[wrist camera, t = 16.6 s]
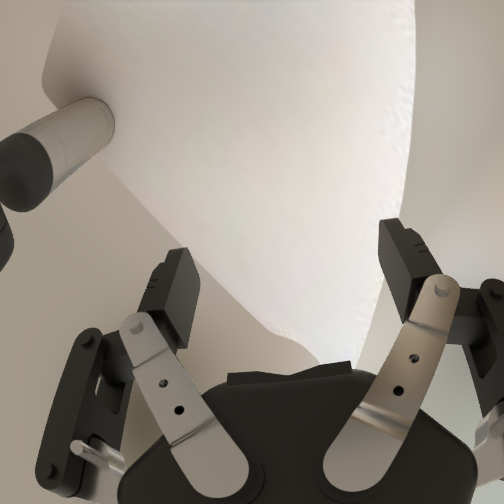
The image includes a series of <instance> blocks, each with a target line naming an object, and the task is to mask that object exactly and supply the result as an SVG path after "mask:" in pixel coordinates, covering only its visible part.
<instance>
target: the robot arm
mask: <svg viewBox="0 0 504 504" xmlns="http://www.w3.org/2000/svg"><path fill="white" fill-rule="evenodd" d="M113 132H114V119H113V116H112V113H111V111H110V110H109V108H108V107H107V106H106V105H105V104H104V103H103V102H102V101H100V100H98V99H94V98H85V99H82V100H79V101H77V102H75V103H72V104H70V105H68V106H66V107H63V108H61V109H59V110H57V111H55V112H53V113H51V114H49V115H47V116H45V117H43V118H41V119H39V120H37V121H35V122H33V123H31V124H30V125H28V126H26V127H24V128H22V129H21V130H19V131H17V132H15V133H14V134H12V135H10V136H9V137H7V138H5V139H4V140H3V141H1V142H0V202H1V203H2V204H3V205H5V206H6V207H7V208H9V209H11V210H13V211H17V212H28V211H30V210H33V209H34V208H36V207H37V206H38V205H39V204H40V203H41V202H42V201H43V200H44V199H45V198H46V197H47V196H48V195H49V194H50V193H52V192H53V191H54V190H55V189H56V188H57V187H58V186H59V185H60V184H61V183H62V182H63V181H65V180H66V179H67V178H68V177H69V176H70V175H71V174H72V173H74V172H75V171H76V170H77V169H78V168H79V167H81V166H82V165H83V164H84V163H85V162H87V161H88V160H89V159H90V158H91V157H92V156H94V155H95V154H96V153H98V152H99V151H100V150H101V149H103V148H104V147H105V146H106V145H107V144H108V143H109V142H110V140H111V138H112V136H113ZM13 249H14V238H13V234H12V231H11V228H10V226H9V223H8V221H7V219H6V216H5V214H4V211H3V209H2V206H1V204H0V272H1V270H2V269H3V268H4V266H5V265H6V263H7V262H8V260H9V258H10V256H11V255H12V252H13ZM378 257H379V262H380V265H381V268H382V270H383V273H384V275H385V278H386V281H387V283H388V286H389V288H390V291H391V293H392V296H393V299H394V302H395V304H396V307H397V310H398V313H399V315H400V318H401V321H402V324H404V325H403V327H402V329H401V331H400V333H399V335H398V337H397V339H396V341H395V343H394V345H393V347H392V349H391V351H390V353H389V355H388V356H387V358H386V361H385V362H384V364H383V366H382V368H381V369H380V371H379V373H378V375H374V374H372V373H370V372H366V371H362V370H357V369H352V367H351V362H350V361H344V362H337V363H330V364H323V365H318V366H316V367H313V368H310V369H307V370H304V371H301V372H298V373H295V374H292V375H280V374H272V373H265V372H259V371H254V372H239V373H228V376H227V382H224V383H222V384H219V385H217V386H215V387H213V388H211V389H209V390H208V391H207V392H205V393H204V394H201V392H200V391H199V390H198V388H197V387H196V385H195V384H194V382H193V381H192V379H191V378H190V376H189V375H188V373H187V372H186V370H185V369H184V367H183V366H182V364H181V363H180V361H179V360H178V358H177V357H176V352H177V349H186V348H187V347H188V341H189V337H190V332H191V327H192V323H193V318H194V313H195V309H196V305H197V300H198V296H199V291H200V277H199V274H198V271H197V269H196V266H195V264H194V261H193V259H192V256H191V254H190V251H189V250H188V248H186V247H185V248H178V249H172V250H169V252H168V254H167V257H166V259H165V262H163V263H160V264H159V265H158V266H157V267H156V268H155V269H154V271H153V272H152V275H151V277H150V280H149V281H150V282H148V285H147V289H146V290H145V292H144V295H143V297H142V300H141V303H140V305H139V308H138V310H137V313H134V314H132V315H130V316H129V317H127V318H126V319H125V320H124V321H123V323H122V324H121V326H120V329H119V330H117V331H115V332H111V333H108V334H106V335H103V334H102V333H101V331H100V330H99V329H97V328H89V329H86V330H84V331H83V332H82V333H80V334H79V335H78V337H77V338H76V340H75V342H74V344H73V347H72V349H71V352H70V355H69V357H68V360H67V363H66V366H65V368H64V371H63V374H62V377H61V379H60V383H59V385H58V389H57V391H56V395H55V397H54V400H53V404H52V407H51V410H50V413H49V417H48V420H47V424H46V427H45V431H44V434H43V438H42V442H41V446H40V450H39V454H38V458H37V462H36V467H35V475H36V479H37V481H38V483H39V485H40V486H41V487H43V488H44V489H47V490H49V491H51V492H54V493H56V494H58V495H59V496H61V497H63V498H66V499H69V500H71V501H74V502H77V503H79V504H470V503H471V500H472V497H473V494H474V491H475V488H478V487H480V486H483V485H486V484H488V483H491V482H493V481H496V480H498V479H499V480H502V481H504V282H503V281H501V280H498V279H487V280H485V281H484V282H483V283H482V284H481V287H480V289H470V288H462V287H460V286H459V284H458V283H457V281H455V280H454V279H453V278H452V277H450V276H447V275H444V274H443V273H442V271H441V269H440V268H439V266H438V264H437V263H436V261H435V259H434V257H433V256H432V254H431V253H430V252H429V249H428V247H427V246H426V245H425V242H424V241H423V239H422V238H421V236H420V235H419V234H418V233H417V232H415V231H414V230H412V229H411V228H409V229H405V228H404V227H403V225H402V224H401V222H400V221H399V219H398V218H391V219H384V220H380V222H379V241H378ZM445 344H458V345H462V347H463V350H464V353H465V356H466V359H467V362H468V365H469V368H470V372H471V375H472V378H473V382H474V386H475V389H476V393H477V396H478V400H479V404H480V408H481V412H482V416H483V419H482V420H481V421H480V422H479V424H478V425H477V428H476V431H475V446H474V450H473V452H472V451H471V450H470V448H469V447H468V446H467V445H466V444H465V443H463V442H462V441H461V440H460V439H458V438H457V437H456V436H454V435H453V434H452V433H451V432H449V431H448V430H447V429H446V428H444V427H443V426H442V425H440V424H439V423H438V422H437V421H435V420H434V419H433V418H432V417H430V416H429V415H428V414H427V413H425V412H424V411H423V410H421V409H420V406H421V404H422V402H423V399H424V397H425V395H426V393H427V390H428V388H429V386H430V384H431V381H432V379H433V376H434V374H435V371H436V368H437V366H438V363H439V361H440V358H441V356H442V353H443V350H444V347H445ZM99 377H100V378H101V380H100V384H99V387H98V391H97V395H95V389H96V385H97V381H98V378H99ZM135 379H136V381H137V383H138V385H139V387H140V389H141V391H142V393H143V395H144V398H145V400H146V401H147V404H148V405H149V407H150V409H151V411H152V413H153V415H154V417H155V419H156V421H157V423H158V424H159V426H160V428H161V430H162V432H163V435H162V436H161V437H160V438H159V439H158V440H157V441H156V442H155V443H154V444H153V445H152V446H151V447H150V448H149V449H148V450H147V451H146V452H145V453H144V454H143V455H142V456H141V457H140V458H139V459H138V460H137V461H136V462H135V463H133V464H132V465H131V466H130V467H129V468H128V469H127V468H126V467H125V461H124V458H123V456H122V455H121V454H120V446H121V440H122V434H123V429H124V424H125V418H126V413H127V408H128V404H129V399H130V393H131V389H132V385H133V380H135Z"/></svg>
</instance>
